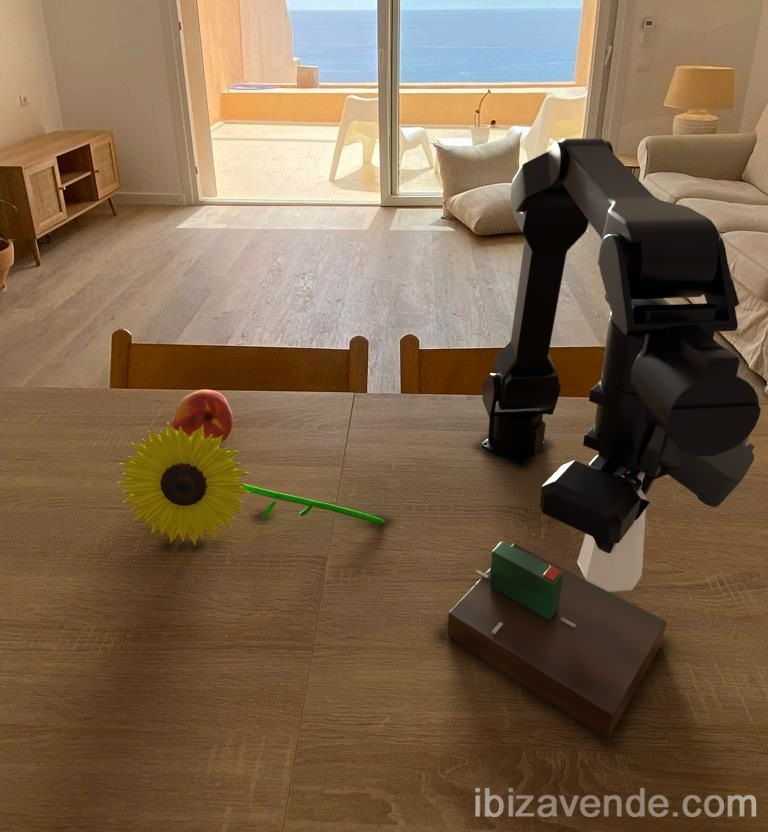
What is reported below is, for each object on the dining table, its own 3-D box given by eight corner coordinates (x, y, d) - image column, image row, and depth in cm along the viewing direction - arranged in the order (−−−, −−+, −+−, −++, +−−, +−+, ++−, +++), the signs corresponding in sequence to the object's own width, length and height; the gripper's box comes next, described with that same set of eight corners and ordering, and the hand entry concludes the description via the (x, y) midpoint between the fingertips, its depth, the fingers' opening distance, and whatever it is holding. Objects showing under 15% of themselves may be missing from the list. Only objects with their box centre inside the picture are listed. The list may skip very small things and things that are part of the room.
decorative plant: (401, 460, 80) (145, 392, 77) (403, 483, 75) (127, 411, 72) (365, 568, 83) (118, 506, 81) (365, 598, 78) (100, 533, 75)
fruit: (175, 464, 91) (167, 412, 88) (177, 430, 98) (169, 381, 95) (236, 455, 93) (230, 404, 89) (234, 423, 100) (228, 374, 96)
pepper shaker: (608, 602, 58) (627, 495, 53) (564, 560, 62) (578, 458, 57) (655, 580, 60) (677, 475, 55) (609, 540, 64) (627, 441, 60)
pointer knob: (489, 586, 68) (491, 549, 66) (498, 575, 69) (501, 538, 67) (549, 621, 64) (554, 582, 62) (558, 609, 65) (563, 570, 63)
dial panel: (607, 739, 57) (612, 713, 55) (440, 631, 66) (440, 606, 65) (661, 644, 65) (667, 619, 64) (505, 560, 75) (507, 537, 73)
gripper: (712, 478, 42) (670, 662, 48) (786, 364, 55) (745, 521, 61) (545, 415, 48) (528, 584, 55) (646, 327, 61) (623, 472, 68)
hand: (614, 537), depth 59 cm, fingers closed on pepper shaker, 4 cm apart
